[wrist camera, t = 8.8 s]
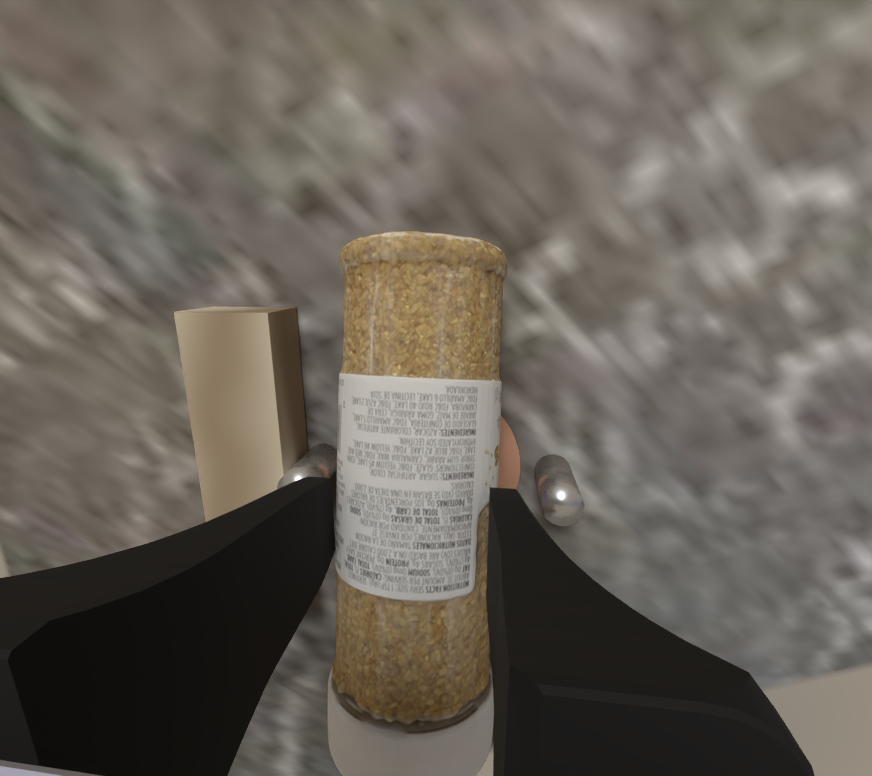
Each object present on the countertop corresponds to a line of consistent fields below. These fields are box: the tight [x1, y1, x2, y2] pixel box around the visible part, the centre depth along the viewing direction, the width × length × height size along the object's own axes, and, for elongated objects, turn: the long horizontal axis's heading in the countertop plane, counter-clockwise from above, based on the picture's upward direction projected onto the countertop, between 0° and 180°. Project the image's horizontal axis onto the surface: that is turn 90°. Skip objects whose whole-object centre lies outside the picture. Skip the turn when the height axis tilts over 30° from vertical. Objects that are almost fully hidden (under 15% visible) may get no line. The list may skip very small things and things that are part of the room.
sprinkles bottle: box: [328, 231, 507, 776], centre depth 12 cm, size 5×5×14 cm
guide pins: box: [277, 444, 584, 526], centre depth 15 cm, size 9×5×2 cm, turn 90°
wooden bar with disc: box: [174, 307, 520, 522], centre depth 15 cm, size 11×11×2 cm
